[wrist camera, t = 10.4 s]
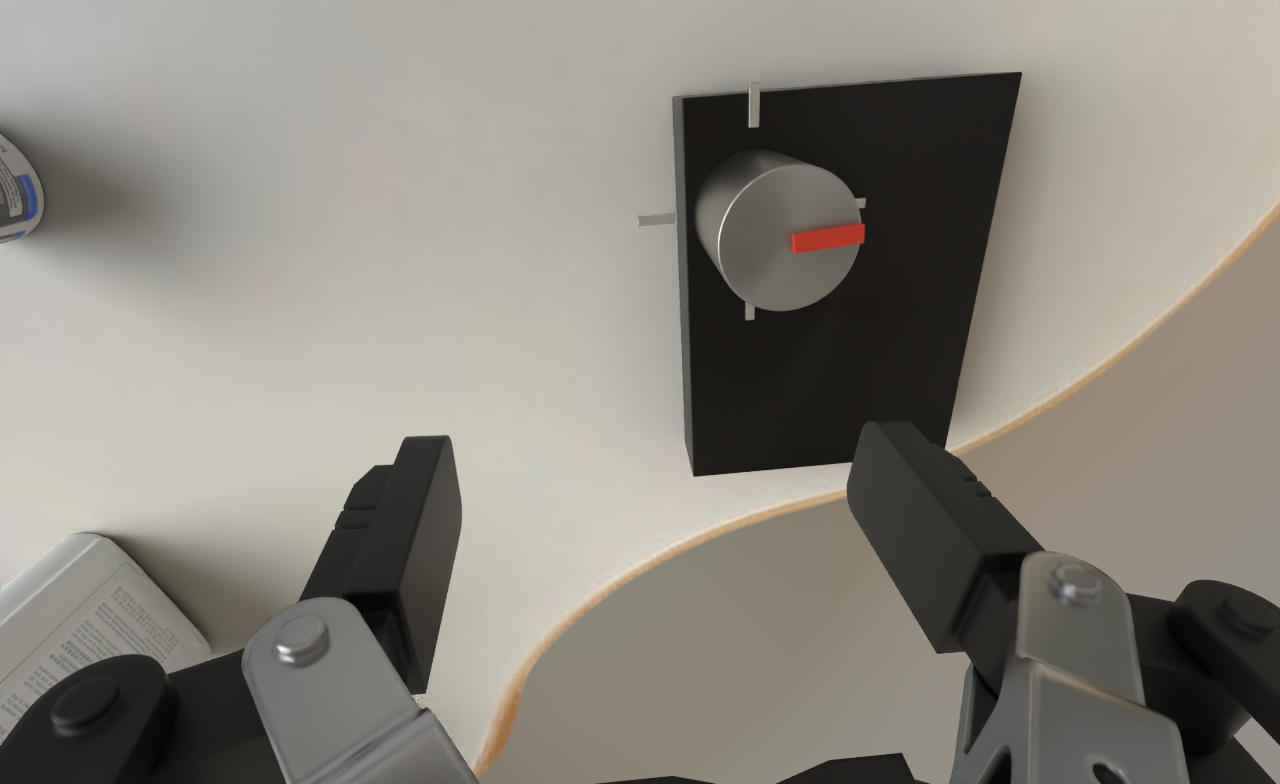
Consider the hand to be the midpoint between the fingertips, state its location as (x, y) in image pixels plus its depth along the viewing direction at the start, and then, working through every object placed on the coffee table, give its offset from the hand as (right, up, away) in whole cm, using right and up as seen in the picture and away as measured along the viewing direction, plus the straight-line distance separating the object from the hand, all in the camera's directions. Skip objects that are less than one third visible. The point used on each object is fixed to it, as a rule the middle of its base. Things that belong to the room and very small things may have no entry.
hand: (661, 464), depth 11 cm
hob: (+7, +6, +15) cm, 18 cm away
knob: (+4, +8, +11) cm, 14 cm away
